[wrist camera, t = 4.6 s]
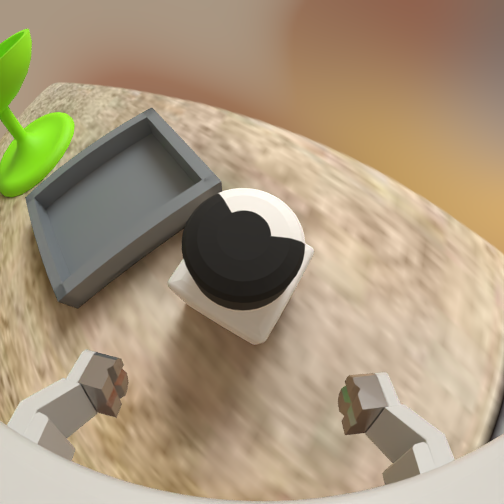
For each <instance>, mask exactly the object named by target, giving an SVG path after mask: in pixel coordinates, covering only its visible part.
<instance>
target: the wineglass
mask: <svg viewBox="0 0 504 504" xmlns="http://www.w3.org/2000/svg"><path fill="white" fill-rule="evenodd" d="M31 47H32V40H31V37H30V32H29V29H24V30H22V31H20V32H18V33H16V34H15V35H12V36H11V37H10V38H8V39H7V40H5V41H3V42H2V43H1V44H0V120H1V121H2V122H3V124H4V125H5V126H6V128H7V129H8V131H9V132H10V133H11V134H12V136H13V137H14V138H15V139H14V140H13V141H12V143H11V144H10V145H9V147H8V148H7V150H6V152H5V153H4V155H3V158H2V160H1V162H0V192H1V193H2V194H3V195H4V196H6V197H15V196H18V195H21V194H23V193H25V192H27V191H28V190H30V189H32V188H33V187H34V186H35V185H37V184H38V183H39V182H40V181H41V180H43V179H44V178H45V176H46V175H47V174H48V173H49V172H50V171H51V170H52V169H53V168H54V167H55V165H56V164H57V163H58V162H59V160H60V159H61V158H62V156H63V155H64V153H65V151H66V149H67V148H68V146H69V144H70V142H71V139H72V136H73V134H74V122H73V119H72V118H71V117H70V116H69V115H68V114H66V113H60V112H56V113H50V114H47V115H44V116H42V117H40V118H38V119H37V120H35V121H33V122H32V123H30V124H29V125H28V126H27V127H25V128H24V129H23V127H22V126H21V125H20V123H19V122H18V120H17V119H16V117H15V116H14V115H13V113H12V112H11V111H10V109H9V107H8V105H9V104H10V103H11V101H12V100H13V99H14V97H15V96H16V95H17V93H18V92H19V90H20V88H21V85H22V83H23V81H24V79H25V77H26V75H27V72H28V68H29V64H30V60H31Z"/></svg>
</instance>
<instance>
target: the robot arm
mask: <svg viewBox="0 0 504 504" xmlns="http://www.w3.org/2000/svg"><path fill="white" fill-rule="evenodd" d="M123 365H124V364H123V362H122V359H120V358H117V357H113V356H109V355H105V354H101V353H98V352H94V351H90V350H84V351H83V352H82V353H81V355H80V356H79V358H78V360H77V361H76V363H75V365H74V366H73V368H72V370H71V371H70V373H69V375H68V376H67V378H66V379H65V378H62V379H60V380H58V381H57V382H55V383H53V384H51V385H49V386H48V387H46V388H44V389H42V390H40V391H39V392H37V393H35V394H33V395H31V396H29V397H28V398H26V399H24V400H22V401H20V403H19V405H18V407H17V408H16V410H15V412H14V414H13V415H12V417H11V419H10V421H9V423H8V425H5V424H4V423H2V422H1V421H0V504H504V434H502V435H501V436H499V437H497V438H496V439H494V440H492V441H491V442H489V443H487V444H485V445H483V446H482V447H480V448H478V449H476V450H474V451H472V452H470V453H468V454H466V455H464V456H462V457H460V458H458V459H456V460H454V457H453V454H452V452H451V449H450V447H449V444H448V442H447V439H446V437H445V434H444V433H442V432H441V431H439V430H438V429H437V428H435V427H434V426H433V425H431V424H430V423H429V422H427V421H426V420H425V419H423V418H422V417H421V416H419V415H418V414H417V413H415V412H414V411H413V410H411V409H410V408H409V407H407V406H406V405H405V404H400V401H399V399H398V396H397V394H396V392H395V389H394V387H393V385H392V382H391V380H390V378H389V375H388V374H387V373H386V372H382V373H369V374H358V375H349V376H348V377H347V378H346V380H345V384H346V386H345V387H343V388H342V389H341V391H340V393H339V397H338V407H339V412H341V413H342V414H343V415H344V418H343V419H342V425H343V429H344V434H345V435H351V434H360V433H365V434H366V435H367V436H368V438H369V439H370V440H371V441H372V442H373V443H374V444H375V445H376V446H377V447H378V448H379V449H380V450H381V451H382V452H383V453H384V455H385V456H386V457H387V458H388V459H389V460H390V461H391V462H392V463H393V464H392V465H391V466H389V467H388V468H387V469H386V470H385V471H384V472H383V473H382V474H383V478H384V483H385V485H384V486H380V487H376V488H372V489H367V490H363V491H358V492H353V493H348V494H342V495H336V496H329V497H322V498H313V499H302V500H288V501H238V500H223V499H212V498H204V497H196V496H189V495H183V494H177V493H172V492H167V491H162V490H158V489H153V488H149V487H145V486H141V485H138V484H134V483H130V482H127V481H124V480H120V479H117V478H114V477H111V476H108V475H105V474H103V473H100V472H97V471H94V470H92V469H89V468H87V467H84V466H82V465H80V464H77V463H75V462H73V461H71V460H72V458H73V455H74V452H75V448H74V446H73V445H72V444H71V443H70V442H69V441H68V440H67V439H66V438H68V437H69V436H70V435H71V434H73V433H74V432H75V431H76V430H78V429H79V428H80V427H81V426H83V425H84V424H85V423H86V422H88V421H89V420H90V419H91V418H93V417H94V416H95V415H96V414H97V412H98V413H101V414H105V415H109V416H112V417H116V418H117V415H118V413H119V410H120V408H121V405H122V403H121V401H120V398H122V397H123V396H125V395H126V392H127V389H128V376H127V373H126V372H125V371H124V370H123V369H122V367H123Z"/></svg>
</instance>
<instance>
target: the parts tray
mask: <svg viewBox="0 0 504 504" xmlns="http://www.w3.org/2000/svg"><path fill="white" fill-rule="evenodd" d="M220 192H222V184H221V181H220V179H219V178H218V177H217V176H216V175H215V174H214V173H213V172H212V171H211V170H210V169H209V167H208V166H207V165H206V164H205V163H204V162H203V161H202V160H201V159H200V158H199V157H198V156H197V155H196V153H195V152H194V151H193V150H192V149H191V148H190V147H189V146H188V145H187V144H186V143H185V142H184V141H183V140H182V139H181V138H180V136H179V135H178V134H177V133H176V132H175V131H174V130H173V129H172V128H171V127H170V126H169V125H168V124H167V123H166V122H165V121H164V120H163V119H162V118H161V117H160V115H159V114H158V113H157V112H156V111H155V110H154V109H153V108H150V109H148V110H146V111H144V112H143V113H141V114H139V115H137V116H136V117H134V118H132V119H130V120H129V121H127V122H125V123H124V124H122V125H120V126H119V127H117V128H116V129H114V130H112V131H111V132H109V133H108V134H106V135H105V136H103V137H102V138H100V139H99V140H97V141H96V142H94V143H93V144H91V145H90V146H88V147H87V148H86V149H84V150H83V151H81V152H80V153H79V154H77V155H76V156H75V157H73V158H72V159H71V160H69V161H68V162H67V163H65V164H64V165H63V166H62V167H60V168H59V169H58V170H56V171H55V172H54V173H53V174H52V175H50V176H49V177H48V178H47V179H46V180H44V181H43V182H42V183H41V184H40V185H39V186H38V187H36V188H35V189H34V190H33V191H32V192H31V193H30V194H29V195H28V196H27V197H25V198H26V203H27V207H28V212H29V216H30V220H31V224H32V228H33V231H34V235H35V238H36V242H37V245H38V248H39V251H40V255H41V258H42V261H43V264H44V266H45V269H46V272H47V275H48V278H49V280H50V283H51V285H52V288H53V290H54V293H55V295H56V298H57V300H58V302H61V303H63V304H66V305H69V306H72V307H75V308H79V307H80V306H81V305H83V304H84V303H85V302H86V301H88V300H89V299H90V298H91V297H92V296H94V295H95V294H96V293H97V292H99V291H100V290H101V289H102V288H104V287H105V286H106V285H108V284H109V283H110V282H111V281H113V280H114V279H115V278H117V277H118V276H119V275H120V274H122V273H123V272H124V271H126V270H127V269H128V268H130V267H131V266H132V265H134V264H135V263H136V262H138V261H139V260H140V259H142V258H143V257H144V256H146V255H147V254H148V253H150V252H151V251H152V250H154V249H155V248H157V247H158V246H159V245H161V244H162V243H163V242H165V241H166V240H168V239H169V238H170V237H172V236H173V235H175V234H176V233H178V232H179V231H180V230H182V229H183V228H185V225H186V223H187V221H188V219H189V217H190V216H191V214H192V213H193V212H194V210H195V209H196V208H197V207H198V206H199V205H200V204H201V203H202V202H204V201H205V200H206V199H208V198H209V197H211V196H213V195H215V194H217V193H220Z"/></svg>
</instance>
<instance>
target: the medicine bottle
mask: <svg viewBox="0 0 504 504" xmlns="http://www.w3.org/2000/svg"><path fill="white" fill-rule="evenodd" d="M182 254H183V260H182V261H181V263H180V264H179V265H178V267H177V268H176V270H175V271H174V273H173V274H172V276H171V277H170V279H169V280H168V287H169V288H170V289H171V290H172V291H173V292H174V293H175V294H177V295H178V296H179V297H180V298H181V299H182V300H183V301H184V302H185V303H186V304H187V305H189V306H190V307H192V308H193V309H195V310H197V311H198V312H200V313H201V314H203V315H204V316H206V317H208V318H209V319H211V320H212V321H214V322H216V323H217V324H219V325H221V326H222V327H224V328H226V329H227V330H229V331H231V332H232V333H234V334H236V335H237V336H239V337H241V338H242V339H244V340H246V341H248V342H249V343H251V344H253V345H257V344H260V343H264V342H265V341H266V340H267V338H268V336H269V335H270V333H271V331H272V329H273V328H274V326H275V324H276V322H277V321H278V319H279V317H280V315H281V314H282V312H283V310H284V308H285V307H286V305H287V303H288V301H289V299H290V298H291V296H292V294H293V292H294V290H295V288H296V287H297V285H298V283H299V281H300V279H301V277H302V276H303V274H304V272H305V270H306V268H307V266H308V264H309V262H310V260H311V259H312V257H313V255H314V249H313V248H312V247H311V246H309V245H307V244H305V238H304V233H303V229H302V227H301V224H300V222H299V220H298V218H297V217H296V215H295V214H294V212H293V211H292V210H291V209H290V208H289V207H288V206H287V205H286V204H285V203H284V202H283V201H281V200H280V199H278V198H277V197H275V196H273V195H271V194H269V193H266V192H264V191H260V190H257V189H250V188H237V189H230V190H225V191H222V192H220V193H217V194H215V195H213V196H211V197H209V198H208V199H206V200H205V201H204V202H202V203H201V204H200V205H199V206H198V207H197V208H196V209H195V210H194V212H193V213H192V214H191V216H190V217H189V219H188V221H187V223H186V225H185V228H184V232H183V237H182Z"/></svg>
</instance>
